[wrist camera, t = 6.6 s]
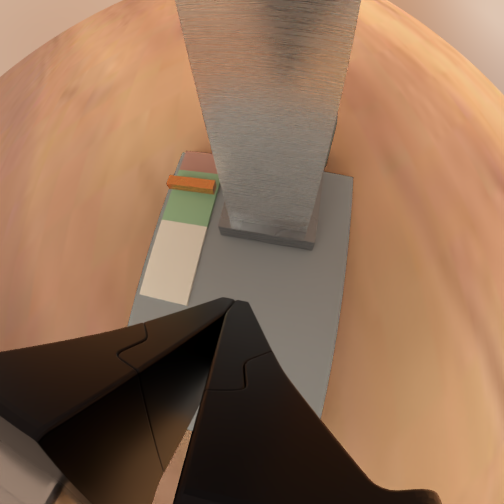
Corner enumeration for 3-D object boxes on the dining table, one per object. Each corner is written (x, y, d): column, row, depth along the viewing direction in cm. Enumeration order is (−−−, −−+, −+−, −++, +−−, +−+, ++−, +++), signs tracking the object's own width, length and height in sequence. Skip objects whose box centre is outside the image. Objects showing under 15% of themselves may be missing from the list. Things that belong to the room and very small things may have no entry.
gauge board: (309, 448, 14) (322, 475, 10) (118, 402, 16) (78, 409, 11) (351, 153, 20) (366, 109, 16) (197, 131, 21) (184, 87, 17)
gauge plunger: (312, 250, 17) (404, -63, 2) (159, 224, 18) (8, -15, 3) (321, 173, 18) (372, -87, 4) (184, 155, 19) (106, -73, 5)
